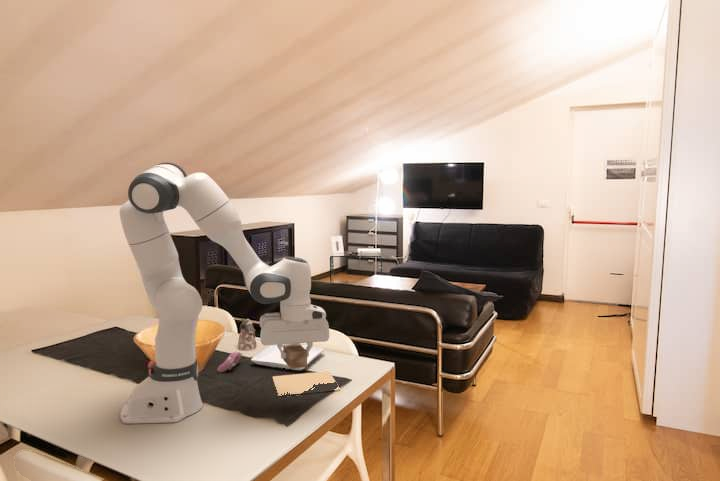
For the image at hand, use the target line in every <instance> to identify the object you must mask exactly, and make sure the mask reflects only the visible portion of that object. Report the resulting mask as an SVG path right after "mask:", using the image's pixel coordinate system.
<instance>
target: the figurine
mask: <svg viewBox="0 0 720 481" xmlns="http://www.w3.org/2000/svg"><path fill="white" fill-rule="evenodd" d="M240 321H241V324H240V325H239V327H240V332H239V336H238V343H237V349H238V350H240V351H243V352H248V351H253V350H256V348H257V341H256V333H255V332H256V329H255V328H254V324H253V321H252V320H251V319H249V318H246V319H244V317H243V318H242V317H241V319H240Z"/></svg>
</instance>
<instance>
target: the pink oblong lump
mask: <svg viewBox="0 0 720 481" xmlns="http://www.w3.org/2000/svg"><path fill="white" fill-rule="evenodd" d="M242 355H243V354H242V353H241V352H239V351H236V350H235V351H234V352H231V353H230V354H229V355H228V357H226V359H225V360H224V361H223V363H221V364H220V365H219V366H218V367H217V369H216V370H217V372H218V373H224V372H226V371H227V370H228V371H231V370H232V368H235V366H237V363H238V362H239V361H240V360H241V357H242Z"/></svg>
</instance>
